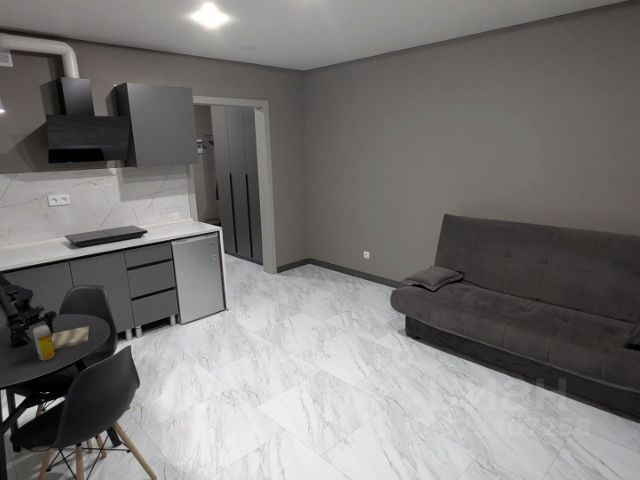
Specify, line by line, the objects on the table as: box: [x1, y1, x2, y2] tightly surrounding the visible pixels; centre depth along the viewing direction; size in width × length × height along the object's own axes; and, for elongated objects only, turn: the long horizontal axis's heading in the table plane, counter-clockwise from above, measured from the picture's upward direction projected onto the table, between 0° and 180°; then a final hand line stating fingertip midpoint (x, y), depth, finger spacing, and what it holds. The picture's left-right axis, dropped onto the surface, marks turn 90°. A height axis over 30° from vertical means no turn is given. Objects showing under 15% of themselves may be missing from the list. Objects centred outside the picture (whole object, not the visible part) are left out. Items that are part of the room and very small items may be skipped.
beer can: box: [32, 324, 56, 361], centre depth 183 cm, size 6×6×15 cm
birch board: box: [51, 325, 90, 350], centre depth 201 cm, size 16×16×2 cm
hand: (42, 337), depth 183 cm, fingers open, 9 cm apart
